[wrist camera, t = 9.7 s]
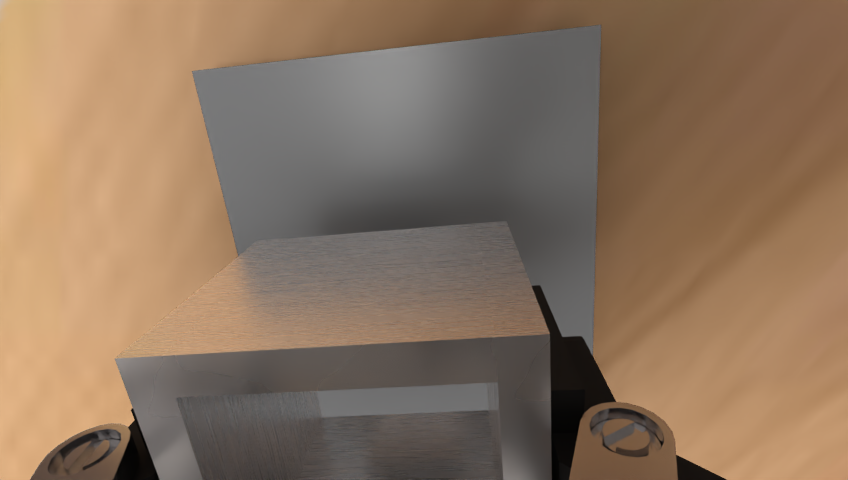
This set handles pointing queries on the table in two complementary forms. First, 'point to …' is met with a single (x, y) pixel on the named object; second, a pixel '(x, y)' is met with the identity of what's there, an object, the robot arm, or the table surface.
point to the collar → (349, 361)
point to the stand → (421, 162)
